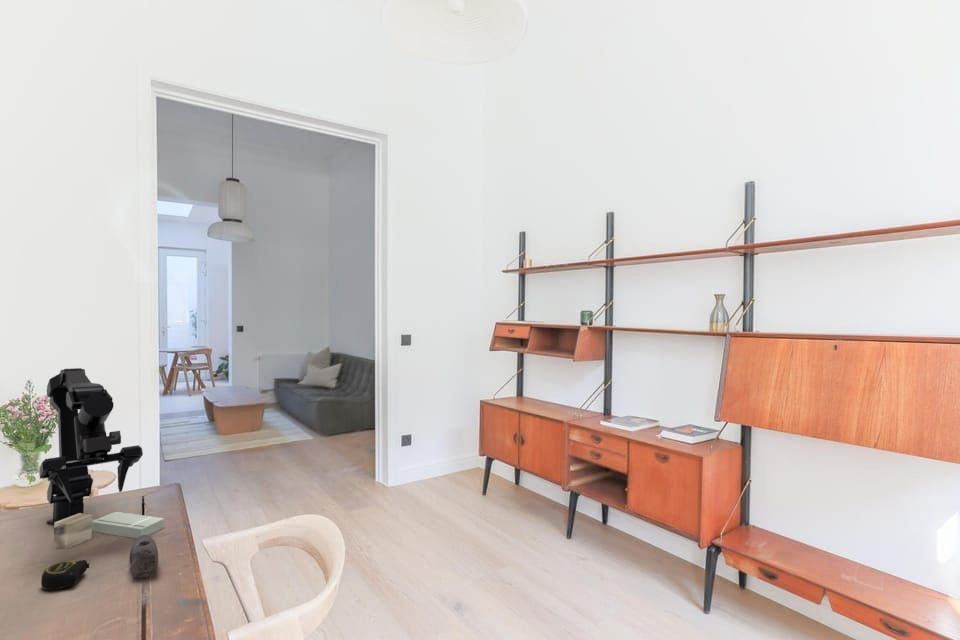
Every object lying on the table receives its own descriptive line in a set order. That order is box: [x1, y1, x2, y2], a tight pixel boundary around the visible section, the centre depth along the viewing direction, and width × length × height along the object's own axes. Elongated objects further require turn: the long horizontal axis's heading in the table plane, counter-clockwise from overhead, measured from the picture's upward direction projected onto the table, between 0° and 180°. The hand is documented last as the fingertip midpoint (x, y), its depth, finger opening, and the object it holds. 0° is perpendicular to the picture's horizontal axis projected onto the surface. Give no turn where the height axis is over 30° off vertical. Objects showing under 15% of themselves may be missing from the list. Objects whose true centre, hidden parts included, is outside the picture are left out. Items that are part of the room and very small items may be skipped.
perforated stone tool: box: [128, 535, 159, 579], centre depth 110 cm, size 15×5×7 cm, turn 36°
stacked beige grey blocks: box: [53, 513, 93, 550], centre depth 121 cm, size 4×8×6 cm, turn 168°
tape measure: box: [40, 559, 90, 591], centre depth 103 cm, size 7×7×4 cm
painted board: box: [92, 511, 165, 539], centre depth 129 cm, size 16×7×3 cm, turn 78°
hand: (96, 496), depth 113 cm, fingers open, 9 cm apart
